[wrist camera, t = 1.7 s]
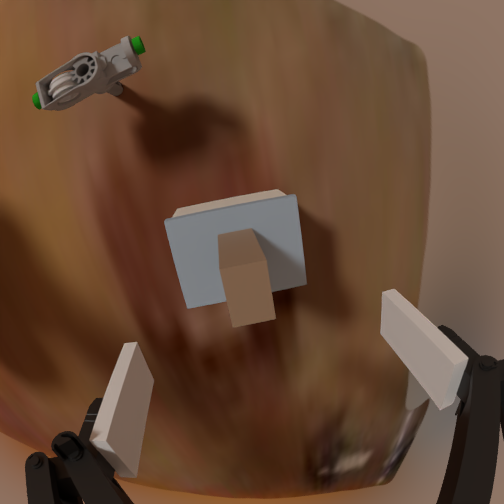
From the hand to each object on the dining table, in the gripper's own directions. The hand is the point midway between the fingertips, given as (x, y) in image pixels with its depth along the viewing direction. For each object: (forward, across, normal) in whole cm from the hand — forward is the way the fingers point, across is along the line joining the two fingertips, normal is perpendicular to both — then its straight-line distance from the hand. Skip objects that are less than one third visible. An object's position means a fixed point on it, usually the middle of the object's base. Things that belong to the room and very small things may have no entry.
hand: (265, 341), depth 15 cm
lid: (+14, 0, 0) cm, 14 cm away
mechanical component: (+20, -10, +19) cm, 29 cm away
